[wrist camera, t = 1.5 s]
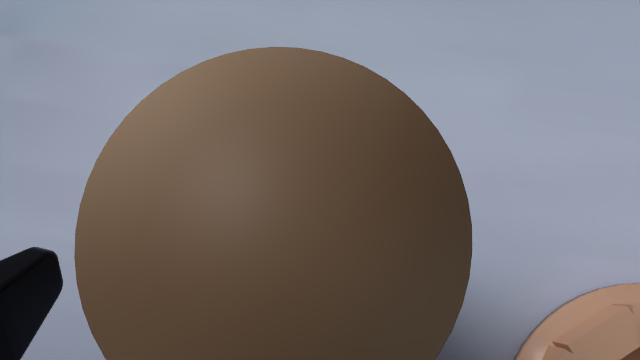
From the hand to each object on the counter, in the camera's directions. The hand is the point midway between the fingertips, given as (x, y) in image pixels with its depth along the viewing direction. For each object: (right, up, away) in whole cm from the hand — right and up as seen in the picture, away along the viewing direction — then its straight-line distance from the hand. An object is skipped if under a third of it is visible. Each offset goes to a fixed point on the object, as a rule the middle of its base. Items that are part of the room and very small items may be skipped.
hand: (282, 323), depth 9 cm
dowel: (+1, -1, +9) cm, 9 cm away
